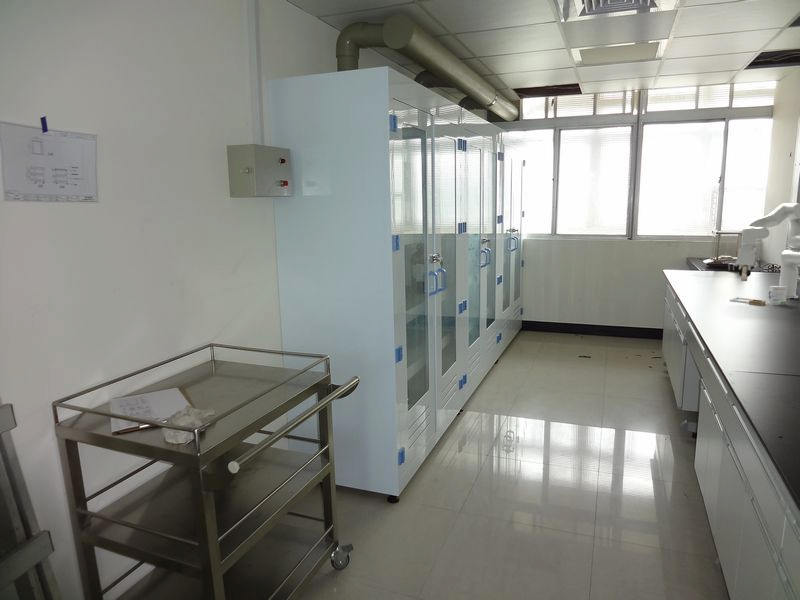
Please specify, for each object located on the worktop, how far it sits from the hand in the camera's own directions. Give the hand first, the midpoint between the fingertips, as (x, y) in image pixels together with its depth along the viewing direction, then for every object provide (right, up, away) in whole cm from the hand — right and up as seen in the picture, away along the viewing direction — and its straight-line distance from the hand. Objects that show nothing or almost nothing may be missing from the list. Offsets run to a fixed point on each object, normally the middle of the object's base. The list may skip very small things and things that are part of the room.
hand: (744, 275), depth 346 cm
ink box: (+15, -19, -8) cm, 25 cm away
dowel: (0, -3, +1) cm, 3 cm away
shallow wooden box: (+3, -19, -8) cm, 21 cm away
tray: (0, -17, +3) cm, 17 cm away
